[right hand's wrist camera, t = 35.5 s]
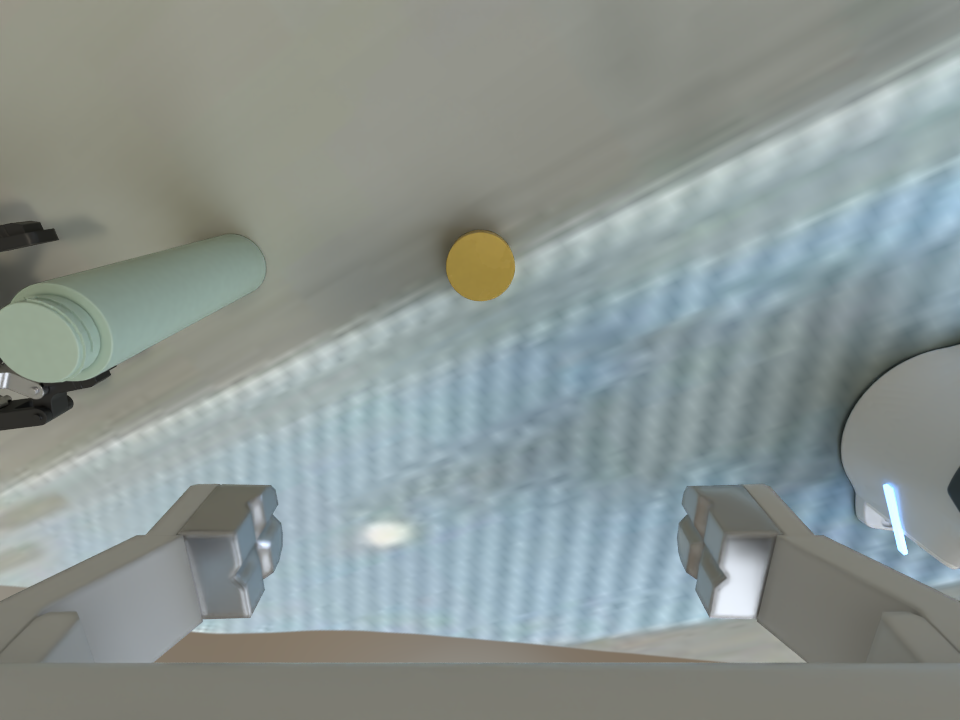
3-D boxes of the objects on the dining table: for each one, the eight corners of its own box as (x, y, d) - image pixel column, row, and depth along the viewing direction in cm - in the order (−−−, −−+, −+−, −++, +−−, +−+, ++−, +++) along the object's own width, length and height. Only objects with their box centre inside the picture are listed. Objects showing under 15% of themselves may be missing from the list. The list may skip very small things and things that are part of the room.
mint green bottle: (264, 298, 39) (94, 402, 22) (205, 287, 39) (-16, 383, 22) (267, 240, 38) (87, 301, 21) (206, 228, 38) (-30, 280, 20)
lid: (527, 267, 39) (528, 271, 37) (476, 309, 40) (476, 314, 38) (484, 215, 37) (485, 217, 36) (433, 259, 38) (431, 263, 37)
